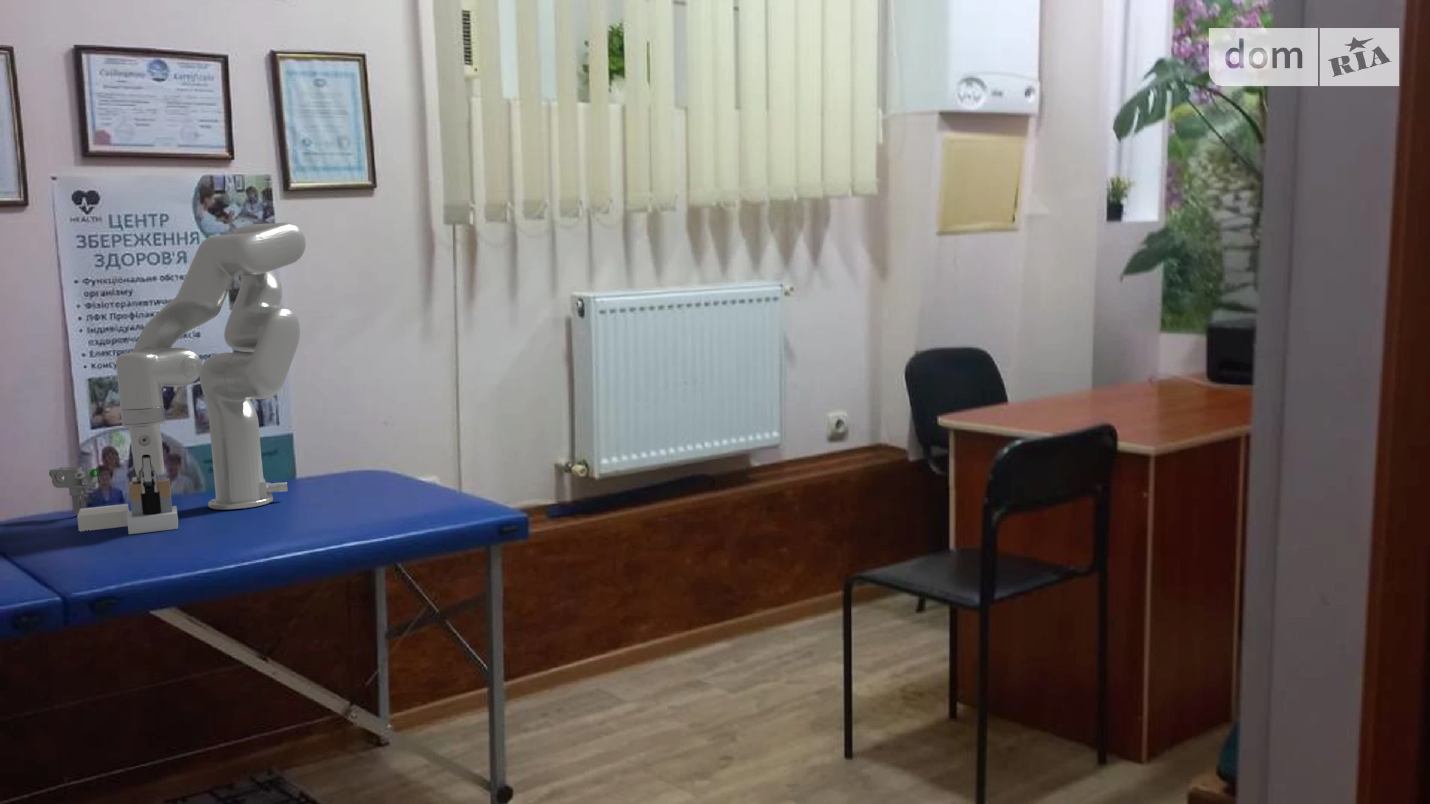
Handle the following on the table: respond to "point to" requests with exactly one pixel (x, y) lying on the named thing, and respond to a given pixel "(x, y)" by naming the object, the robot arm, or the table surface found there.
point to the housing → (136, 492)
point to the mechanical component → (74, 482)
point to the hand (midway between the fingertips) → (152, 510)
